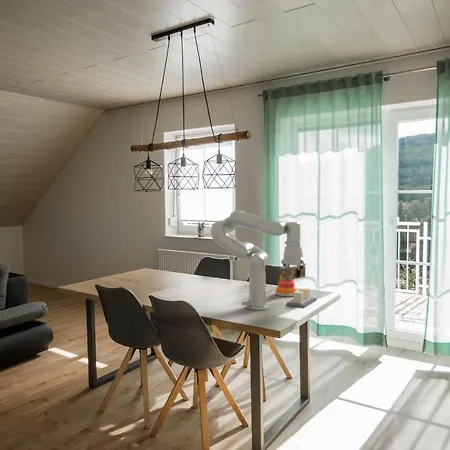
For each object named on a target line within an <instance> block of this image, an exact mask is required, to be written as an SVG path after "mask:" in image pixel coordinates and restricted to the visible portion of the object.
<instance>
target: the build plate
mask: <svg viewBox="0 0 450 450" xmlns="http://www.w3.org/2000/svg"><path fill="white" fill-rule="evenodd" d="M316 301H317V297H312V296H311V288H307V287H301V288H299V290H296V291H295V292H293V296H292V299H291V300H289V301H287V302H286V306H290V307H295V308H296V307H297V308H302V309H303V308H306V307H307V306H309V305H312V303H315V302H316Z"/></svg>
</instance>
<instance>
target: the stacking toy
mask: <svg viewBox="0 0 450 450" xmlns="http://www.w3.org/2000/svg"><path fill="white" fill-rule="evenodd" d="M282 268H285V267H284V266H283V265H282ZM277 282H278V283H277V287H276V290H274V291H275V292H274V293H275V294H276V295H277V296H281V297H293V292H295V291H297V288H296V286H295V285H296V284H295V281H294V280H289V281H287V280H282V279H281V274H280V275H279V280H278V281H277Z"/></svg>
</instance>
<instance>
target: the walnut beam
mask: <svg viewBox="0 0 450 450" xmlns="http://www.w3.org/2000/svg"><path fill="white" fill-rule="evenodd" d="M297 270H298V268H297V265H292V266H289V267H287V268H283V267H282V268H280V272H281V273H280V275H281V279H282V280H287V281H289V280H293V281H294V280H297V279H303V278H306V265H305V266H304V267H303V268H302V269H301V276H300V277H297Z"/></svg>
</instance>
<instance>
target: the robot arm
mask: <svg viewBox="0 0 450 450" xmlns="http://www.w3.org/2000/svg"><path fill="white" fill-rule="evenodd" d="M239 227H241V228H246V229H250V230H254V231H257V232H260V233H263V234H266V235H271V236H276V237H279V236H282V235H286V241H284V245H285V246H284V250H283V258H282V259H281V260H280V263H281V265H282V267H283V266H284V267H285V268H287V267H291V266H297V268H298V270H297V277H300V276H301V269H302V268H303V267H304V266H305V267H306V265H307V262H306V261H305V260H304V258H303V257H304V256H303V248H302V246H301V223H300V222H298V221H290V222H289V221H282V220H281V221H272V220H269V219H265V218H263V217H261V216H260V215H258V214H253V213H249V212H245V211H244V210H234V211H232V212H231V213H230V215H229V216H228V217H225V218H224V219H221V220H217V221H214V222H213V224H212V225H211V229H210V233H211V234H210V235H211V238H212V240H213V241H214V242H215V244H217V245H218V246H219V247H221V248H222V249H224V250H226V251H227V252H228V253H230V254H232V255H233V256H234V257H236V258H237V259H238V260H239V259H240V260H245V259H246V260H248V261H247V268H248V281H249V282H248V287H249V288H248V291H249V293H248V294H249V295H248V296H249V297H248V299H247V300H246V301H241V306H246V308H247V309H249V310H252V311H264V310H267V309H269V304H267V302H266V301H267V296H266V295H267V291H266V289H267V288H266V287H267V285H266V282H267V280H266V277H267V276H266V274H267V273H266V266H267V265H268V264H269V261H270V257H269V255H268V253H267V252H266V251H264V250H262V249H261V248H259V247H258V246H256V245H255V244H254V243H251V242H249V241H240V240H238V239H236V238H235V237H234V236H233V235H229V234H230V233H231V232H233V231H235V230H237V229H238V228H239Z"/></svg>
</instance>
